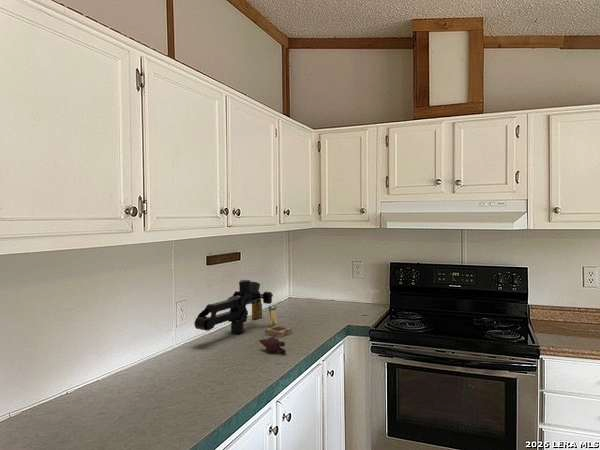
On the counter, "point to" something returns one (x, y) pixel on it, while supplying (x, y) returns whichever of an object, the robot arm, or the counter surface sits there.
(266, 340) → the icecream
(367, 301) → the counter surface
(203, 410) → the counter surface
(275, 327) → the socket
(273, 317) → the pin
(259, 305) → the condiment
